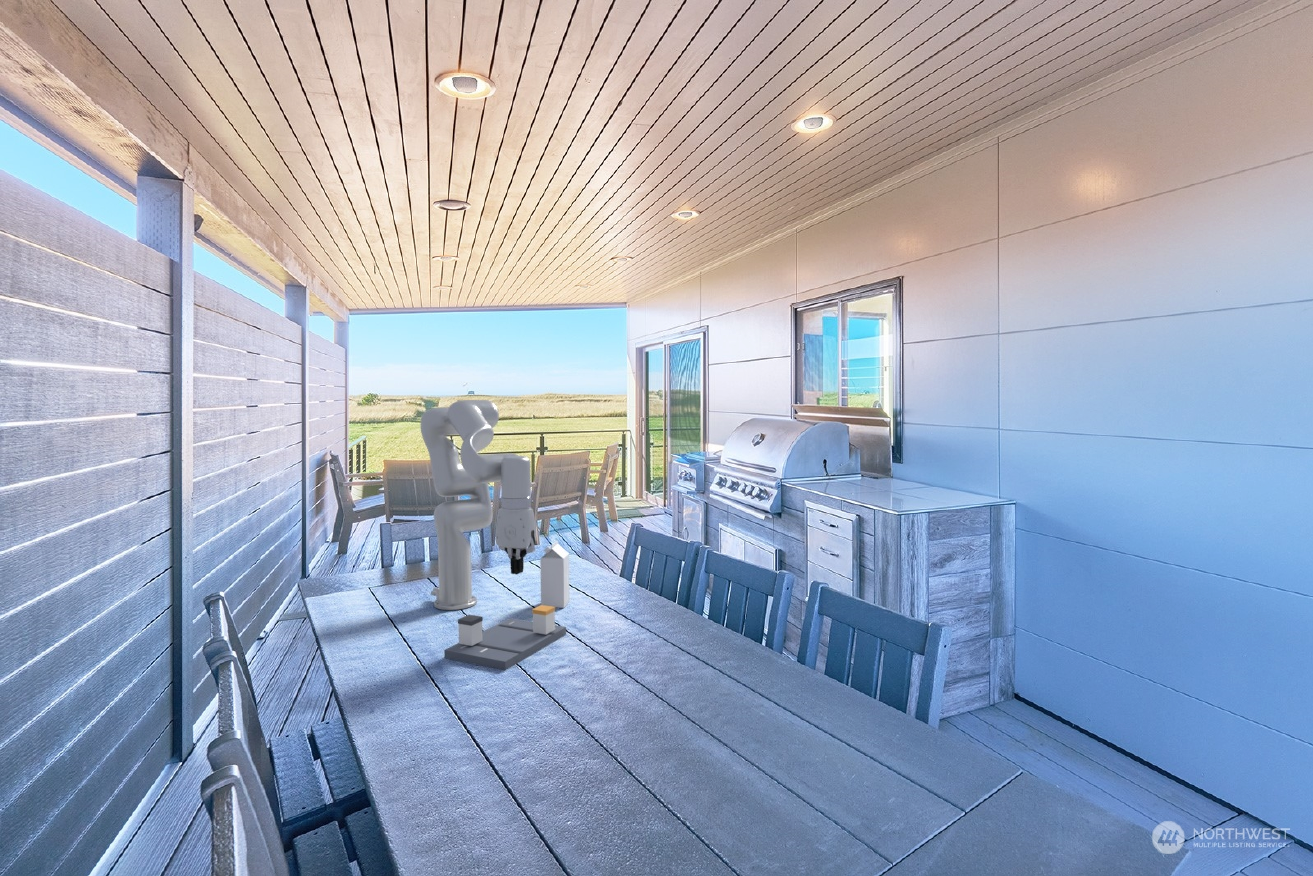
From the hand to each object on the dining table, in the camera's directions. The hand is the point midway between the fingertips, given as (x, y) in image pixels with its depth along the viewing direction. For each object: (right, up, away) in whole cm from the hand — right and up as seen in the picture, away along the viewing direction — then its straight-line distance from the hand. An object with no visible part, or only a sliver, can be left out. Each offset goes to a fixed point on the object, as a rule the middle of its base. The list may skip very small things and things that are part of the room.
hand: (517, 572), depth 178 cm
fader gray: (-9, -15, -10) cm, 21 cm away
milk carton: (+6, -15, +28) cm, 32 cm away
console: (-1, -17, -6) cm, 18 cm away
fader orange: (+7, -15, -3) cm, 17 cm away
